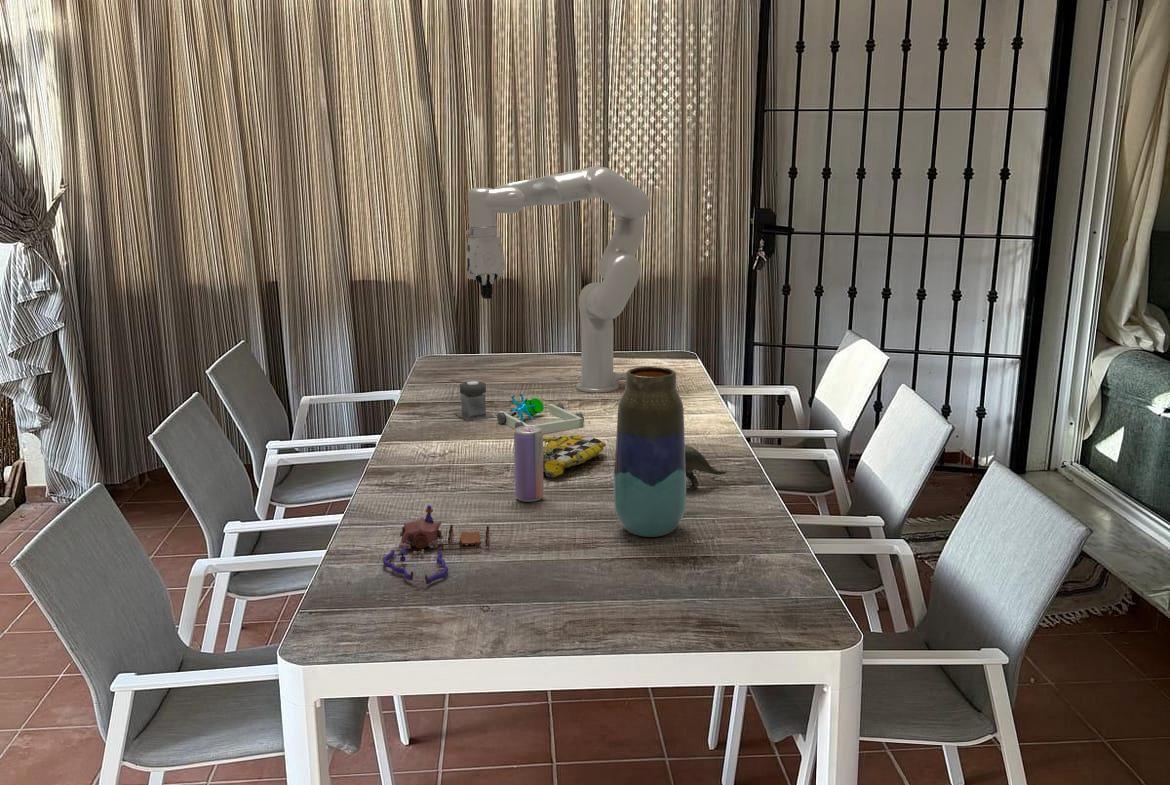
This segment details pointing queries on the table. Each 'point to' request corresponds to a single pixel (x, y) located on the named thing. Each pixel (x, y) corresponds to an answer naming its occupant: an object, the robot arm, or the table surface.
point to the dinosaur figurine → (697, 465)
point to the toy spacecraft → (568, 452)
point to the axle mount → (473, 408)
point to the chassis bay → (568, 423)
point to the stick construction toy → (527, 407)
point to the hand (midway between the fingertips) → (486, 298)
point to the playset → (429, 544)
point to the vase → (650, 453)
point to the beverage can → (528, 463)
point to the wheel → (472, 388)
